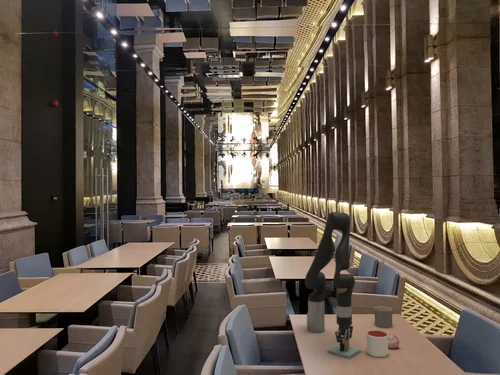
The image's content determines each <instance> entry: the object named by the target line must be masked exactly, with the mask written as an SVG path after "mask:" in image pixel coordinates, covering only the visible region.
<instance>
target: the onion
mask: <svg viewBox="0 0 500 375" xmlns="http://www.w3.org/2000/svg"><path fill="white" fill-rule="evenodd" d="M387 334H388V333H387ZM399 346H400V340H399V338H398V336H396V334H393V333H389V334H388V350H394V349H395V350H396V349H397V348H398V347H399Z"/></svg>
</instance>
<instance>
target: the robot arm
mask: <svg viewBox="0 0 500 375" xmlns="http://www.w3.org/2000/svg"><path fill="white" fill-rule="evenodd" d="M335 230H337V231H341V239H340V241H339V243H338V245H337V247H336V246H335V243H334V239H333V237H332V236H333V232H334V231H335ZM350 236H351V217H350V215H349V214H348V213H345V212H339V211H331V212H330V213H329V214H328V216H327V218H326V222H325V227H324V230H323V234H322V236H321V239H320V242H319V244H318V246H317V249H316V252H315V254H314V258H313V260H312V263H311V265H310V267H309V269H308V270H307V273H306V275H305V278H304V285H305V287H306V288H307V289H309V290H313V291H312V292H311V293H310V294H308V296H307V300H308V301H307V308H308V310H307V313H306V330H308V331H309V332H310V333H316V334H319V333H320V334H321V333H323V332H325V324H326V323H325V320H326V318H325V317H326V316H325V314H326V313H325V298H326V290H327V289H326V288H327V281H326V276H325V274H324V273H323V272H322V270H323V269H325V267H326V266H328V265H329V264H330V262H332V260H333V257H334V260H335V269H334V275H333V279H332V283H333V284H332V285H333V286H334V288H335V289H346V290H345V291H342V292H338V293H337V294H336V312H335V313H336V324H337V325H338V329H337V331H335V338H336V343H339V344H340V350H341V351H344V350H345V349H344V341H345V339H348V340H349V341H351V339H352V338H353V337H352V336H353V331H354V330H353V329H354V326H353V325H352V324H353V309H352V308H353V307H352V294H353V292H354V287H355V284H356V279H355V277H354V275H353V274H351V273H346V274H345V273H341V272H342V271H345V270H346V271H347V270H349V269H350V267H351V266H350V265H351V264H350V249H349V248H350ZM342 338H343V341H342Z"/></svg>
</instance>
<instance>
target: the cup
mask: <svg viewBox="0 0 500 375" xmlns="http://www.w3.org/2000/svg"><path fill="white" fill-rule="evenodd" d="M366 352H367V354H368V355H369V356H372V357H374V358H384V357H387V356H388V355H389V348H388V333H387V332H385V331H382V330H368V331H367V332H366Z"/></svg>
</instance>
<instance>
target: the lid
mask: <svg viewBox="0 0 500 375" xmlns="http://www.w3.org/2000/svg"><path fill="white" fill-rule="evenodd" d="M342 341H343V338H342ZM344 349H345V350H344V351H341V350H340V343H339V344H337V345H336V346H334V347H332V348H331V349H329V350H328V351H329V352H330V353H334V354H337V355H340V356H344V357H347V358H350V357H352V356H353V355H355V354H357V353H358V352H360V351H361V349H360V348H357V347H353V346H350V340H348V339H345V341H344ZM330 353H329V354H330ZM337 355H336V356H337ZM340 356H339V357H340ZM347 358H346V359H347Z"/></svg>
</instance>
